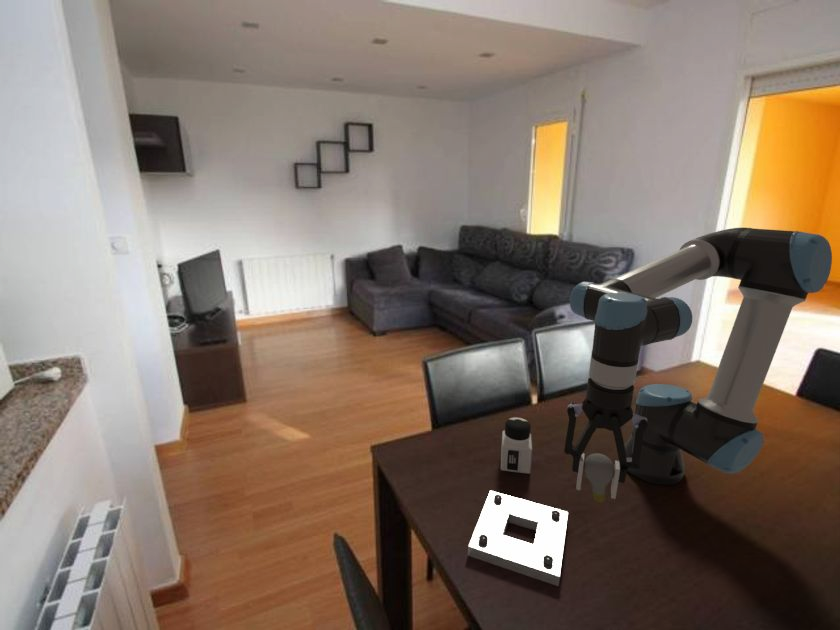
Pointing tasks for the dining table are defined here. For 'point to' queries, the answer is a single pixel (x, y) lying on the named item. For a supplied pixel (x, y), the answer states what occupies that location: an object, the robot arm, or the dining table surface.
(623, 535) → the dining table surface
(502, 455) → the container
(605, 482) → the light bulb
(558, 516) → the flange
